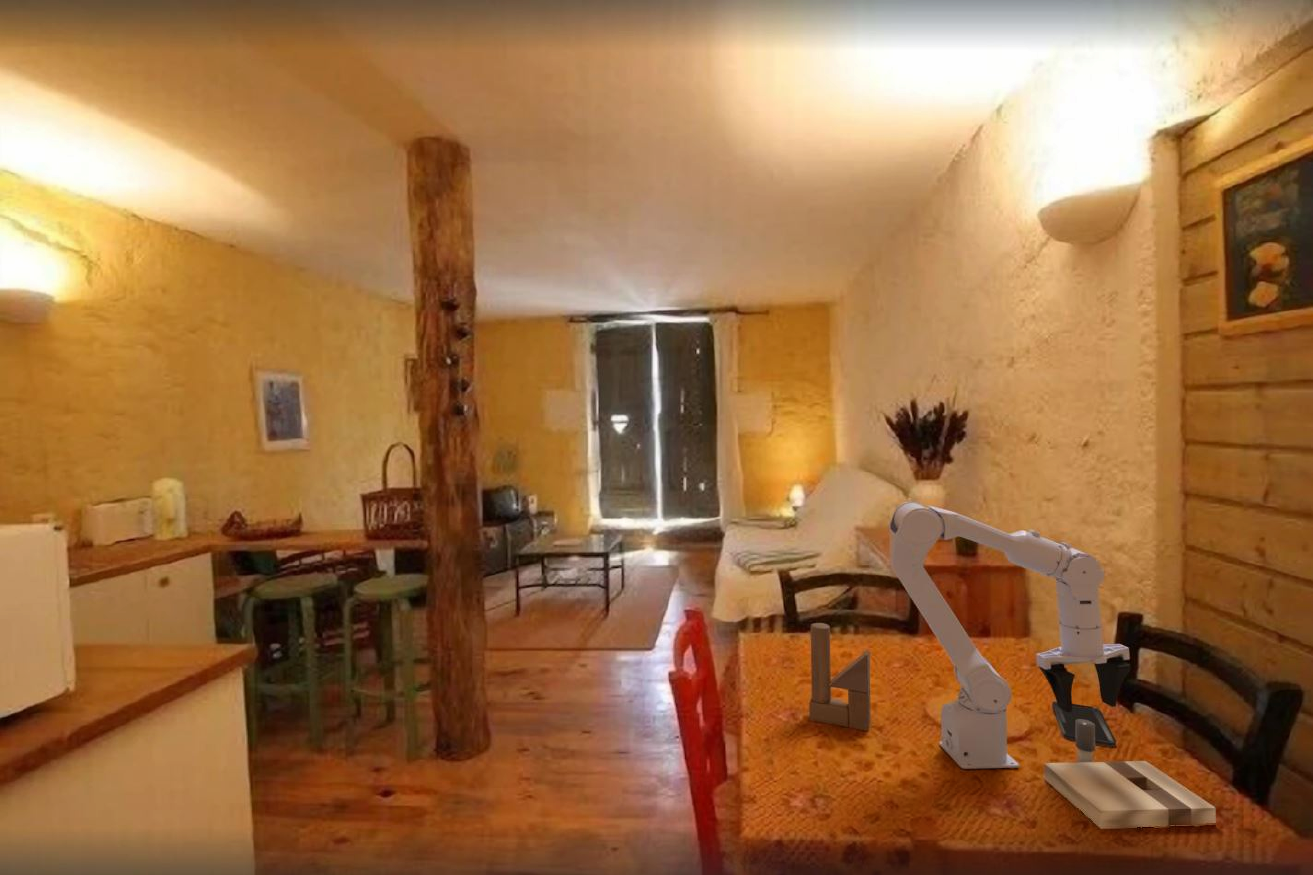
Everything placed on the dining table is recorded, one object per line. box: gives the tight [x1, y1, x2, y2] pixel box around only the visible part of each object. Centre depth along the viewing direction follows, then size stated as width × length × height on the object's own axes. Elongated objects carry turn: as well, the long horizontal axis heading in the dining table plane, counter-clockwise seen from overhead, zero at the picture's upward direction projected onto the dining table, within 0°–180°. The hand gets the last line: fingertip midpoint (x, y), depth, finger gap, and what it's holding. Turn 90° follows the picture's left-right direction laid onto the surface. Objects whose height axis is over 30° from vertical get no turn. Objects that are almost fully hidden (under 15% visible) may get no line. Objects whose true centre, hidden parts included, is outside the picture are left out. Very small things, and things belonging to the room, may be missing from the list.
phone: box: [1051, 701, 1117, 748], centre depth 114 cm, size 8×1×15 cm
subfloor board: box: [1043, 760, 1217, 830], centre depth 90 cm, size 16×12×2 cm
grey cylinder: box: [1075, 719, 1096, 763], centre depth 100 cm, size 3×3×7 cm
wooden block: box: [808, 622, 872, 732], centre depth 116 cm, size 4×11×18 cm, turn 65°
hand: (1087, 706), depth 100 cm, fingers open, 7 cm apart
